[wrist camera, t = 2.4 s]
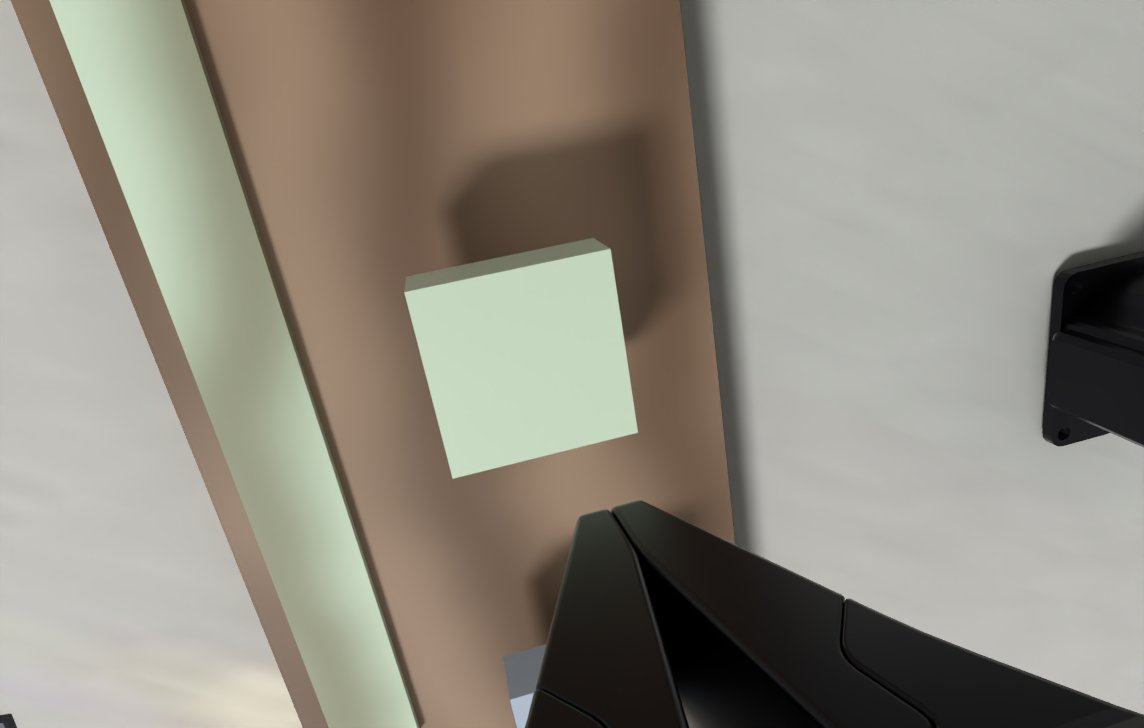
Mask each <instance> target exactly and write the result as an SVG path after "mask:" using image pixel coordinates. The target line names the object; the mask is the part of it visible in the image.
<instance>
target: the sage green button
mask: <svg viewBox="0 0 1144 728" xmlns="http://www.w3.org/2000/svg"><path fill="white" fill-rule="evenodd" d="M404 293H405V297H406V301H407V305H408V309H409V312H410V316H411V320H412V324H413V328H414V332H415V336H416V339H417V343H418V347H419V351H420V355H421V359H422V363H423V366H424V370H425V374H426V378H427V382H428V386H429V390H430V393H431V397H432V401H433V405H434V409H435V413H436V417H437V420H438V424H439V428H440V432H441V436H442V440H443V444H444V447H445V451H446V455H447V459H448V463H449V467H450V471H451V474H452V478H453V479H454V478H458V477H462V476H466V475H470V474H474V473H478V472H482V471H486V470H490V469H494V468H498V467H502V466H506V465H510V464H514V463H518V462H522V461H526V460H530V459H534V458H538V457H542V456H546V455H550V454H554V453H558V452H562V451H566V450H570V449H574V448H578V447H582V446H586V445H590V444H594V443H598V442H602V441H606V440H611V439H615V438H619V437H623V436H627V435H631V434H635V433H638V429H637V422H636V416H635V409H634V402H633V396H632V389H631V382H630V376H629V369H628V362H627V356H626V349H625V342H624V335H623V329H622V322H621V315H620V309H619V302H618V295H617V289H616V282H615V275H614V269H613V262H612V255H611V249H610V248H608V247H607V246H605V245H604V244H602V243H601V242H599V241H597V240H596V239H594V238H590V239H585V240H580V241H575V242H571V243H566V244H561V245H556V246H551V247H546V248H542V249H537V250H532V251H527V252H522V253H518V254H513V255H508V256H503V257H498V258H494V259H489V260H484V261H479V262H474V263H469V264H465V265H460V266H455V267H450V268H445V269H441V270H436V271H431V272H426V273H421V274H417V275H412V276H407V277H406V278H405V290H404Z"/></svg>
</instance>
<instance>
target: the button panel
mask: <svg viewBox="0 0 1144 728" xmlns="http://www.w3.org/2000/svg"><path fill="white" fill-rule="evenodd" d="M11 2H12V4H13V7H14V9H15V12H16V14H17V17H18V19H19V22H20V24H21V27H22V29H23V32H24V34H25V37H26V39H27V42H28V44H29V47H30V49H31V52H32V54H33V57H34V59H35V62H36V64H37V67H38V69H39V72H40V74H41V77H42V79H43V82H44V84H45V87H46V89H47V92H48V94H49V97H50V99H51V102H52V104H53V107H54V109H55V112H56V114H57V117H58V119H59V122H60V124H61V126H62V129H63V131H64V134H65V136H66V139H67V141H68V144H69V146H70V149H71V151H72V154H73V156H74V159H75V161H76V164H77V166H78V169H79V171H80V174H81V176H82V179H83V181H84V184H85V186H86V189H87V191H88V194H89V196H90V199H91V201H92V204H93V206H94V209H95V211H96V214H97V216H98V219H99V221H100V224H101V226H102V229H103V231H104V234H105V236H106V239H107V241H108V244H109V246H110V249H111V251H112V253H113V256H114V258H115V261H116V263H117V266H118V268H119V271H120V273H121V276H122V278H123V281H124V283H125V286H126V288H127V291H128V293H129V296H130V298H131V301H132V303H133V306H134V308H135V311H136V313H137V316H138V318H139V321H140V323H141V326H142V328H143V331H144V333H145V336H146V338H147V341H148V343H149V346H150V348H151V351H152V353H153V356H154V358H155V361H156V363H157V366H158V368H159V371H160V373H161V375H162V378H163V380H164V383H165V385H166V388H167V390H168V393H169V395H170V398H171V400H172V403H173V405H174V408H175V410H176V413H177V415H178V418H179V420H180V423H181V425H182V428H183V430H184V433H185V435H186V438H187V440H188V443H189V445H190V448H191V450H192V453H193V455H194V458H195V460H196V463H197V465H198V468H199V470H200V473H201V475H202V478H203V480H204V483H205V485H206V488H207V490H208V493H209V495H210V497H211V500H212V502H213V505H214V507H215V510H216V512H217V515H218V517H219V520H220V522H221V525H222V527H223V530H224V532H225V535H226V537H227V540H228V542H229V545H230V547H231V550H232V552H233V555H234V557H235V560H236V562H237V565H238V567H239V570H240V572H241V575H242V577H243V580H244V582H245V585H246V587H247V590H248V592H249V595H250V597H251V600H252V602H253V605H254V607H255V610H256V612H257V615H258V617H259V620H260V622H261V624H262V627H263V629H264V632H265V634H266V637H267V639H268V642H269V644H270V647H271V649H272V652H273V654H274V657H275V659H276V662H277V664H278V667H279V669H280V672H281V674H282V677H283V679H284V682H285V684H286V687H287V689H288V692H289V694H290V697H291V699H292V702H293V704H294V707H295V709H296V712H297V714H298V717H299V719H300V722H301V724H302V727H303V728H517V725H516V721H515V717H514V714H513V710H512V706H511V702H510V697H509V691H508V685H507V678H506V672H505V666H504V660H503V656H507V655H510V654H514V653H517V652H521V651H524V650H528V649H531V648H535V647H538V646H542V645H545V644H546V643H547V639H548V635H549V631H550V627H551V623H552V619H553V615H554V611H555V607H556V603H557V599H558V595H559V591H560V587H561V583H562V579H563V575H564V571H565V567H566V563H567V559H568V555H569V551H570V547H571V543H572V539H573V535H574V531H575V527H576V523H577V520H578V518H579V517H580V516H581V515H583V514H587V513H591V512H595V511H599V510H602V509H607V510H609V511H610V512H611V510H612V508H613V507H615V506H618V505H621V504H625V503H629V502H633V501H637V500H641V501H644V502H646V503H648V504H651V505H653V506H655V507H657V508H659V509H661V510H663V511H665V512H667V513H670V514H672V515H674V516H676V517H678V518H680V519H682V520H684V521H686V522H689V523H691V524H693V525H695V526H697V527H699V528H701V529H703V530H705V531H708V532H710V533H712V534H714V535H716V536H718V537H720V538H722V539H725V540H727V541H729V542H731V543H733V544H735V538H734V528H733V518H732V508H731V499H730V489H729V479H728V469H727V459H726V450H725V440H724V430H723V420H722V410H721V400H720V391H719V381H718V371H717V361H716V351H715V341H714V332H713V322H712V312H711V302H710V292H709V283H708V273H707V263H706V253H705V243H704V233H703V224H702V214H701V204H700V194H699V184H698V175H697V165H696V155H695V145H694V135H693V125H692V116H691V106H690V96H689V86H688V76H687V67H686V57H685V47H684V37H683V27H682V17H681V8H680V0H11ZM590 238H594V239H596V240H597V241H599V242H601V243H602V244H604V245H605V246H607V247H608V248H610V249H611V255H612V262H613V269H614V275H615V282H616V289H617V295H618V302H619V309H620V315H621V322H622V329H623V335H624V342H625V349H626V356H627V362H628V369H629V376H630V382H631V389H632V396H633V402H634V409H635V416H636V422H637V429H638V433H635V434H631V435H627V436H623V437H619V438H615V439H611V440H606V441H602V442H598V443H594V444H590V445H586V446H582V447H578V448H574V449H570V450H566V451H562V452H558V453H554V454H550V455H546V456H542V457H538V458H534V459H530V460H526V461H522V462H518V463H514V464H510V465H506V466H502V467H498V468H494V469H490V470H486V471H482V472H478V473H474V474H470V475H466V476H462V477H458V478H454V479H453V478H452V474H451V471H450V467H449V463H448V459H447V455H446V451H445V447H444V444H443V440H442V436H441V432H440V428H439V424H438V420H437V417H436V413H435V409H434V405H433V401H432V397H431V393H430V390H429V386H428V382H427V378H426V374H425V370H424V366H423V363H422V359H421V355H420V351H419V347H418V343H417V339H416V336H415V332H414V328H413V324H412V320H411V316H410V312H409V309H408V305H407V301H406V297H405V293H404V290H405V278H406V277H407V276H412V275H417V274H421V273H426V272H431V271H436V270H441V269H445V268H450V267H455V266H460V265H465V264H469V263H474V262H479V261H484V260H489V259H494V258H498V257H503V256H508V255H513V254H518V253H522V252H527V251H532V250H537V249H542V248H546V247H551V246H556V245H561V244H566V243H571V242H575V241H580V240H585V239H590Z"/></svg>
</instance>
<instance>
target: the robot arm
mask: <svg viewBox="0 0 1144 728" xmlns="http://www.w3.org/2000/svg"><path fill="white" fill-rule="evenodd" d="M1072 283H1073V284H1072ZM1071 284H1072V287H1071V288H1070V286H1071ZM1042 433H1043V438H1044V439H1045V440H1046V441H1048V442H1050V443H1052V444H1054V445H1056V446H1065V445H1068V444H1072V443H1076V442H1079V441H1083V440H1087V439H1090V438H1094V437H1097V436H1101V435H1105V434H1108V433H1112V434H1115V435H1117V436H1119V437H1122V438H1124V439H1126V440H1128V441H1131V442H1133V443H1135V444H1137V445H1140V446H1142V447H1144V252H1141V253H1136V254H1132V255H1128V256H1124V257H1120V258H1115V259H1111V260H1107V261H1103V262H1098V263H1094V264H1090V265H1086V266H1082V267H1077V268H1073V269H1069V270H1066V271H1064V272H1062V273H1061V274H1060V275H1059V276H1058V277H1057V279H1056V280H1055V283H1054V287H1053V300H1052V313H1051V326H1050V339H1049V353H1048V366H1047V379H1046V393H1045V406H1044V419H1043V432H1042ZM525 728H1144V715H1143V714H1140V713H1137V712H1134V711H1131V710H1128V709H1125V708H1122V707H1119V706H1116V705H1114V704H1111V703H1108V702H1105V701H1103V700H1100V699H1097V698H1095V697H1092V696H1089V695H1087V694H1084V693H1081V692H1079V691H1076V690H1073V689H1071V688H1068V687H1065V686H1063V685H1060V684H1057V683H1055V682H1052V681H1049V680H1047V679H1044V678H1041V677H1039V676H1036V675H1033V674H1031V673H1028V672H1025V671H1023V670H1020V669H1017V668H1015V667H1012V666H1009V665H1007V664H1004V663H1001V662H999V661H996V660H993V659H991V658H988V657H985V656H983V655H980V654H977V653H975V652H972V651H970V650H967V649H965V648H962V647H960V646H957V645H955V644H952V643H950V642H947V641H945V640H942V639H940V638H937V637H935V636H932V635H930V634H927V633H924V632H922V631H920V630H918V629H915V628H913V627H911V626H909V625H906V624H904V623H902V622H900V621H897V620H895V619H893V618H891V617H888V616H886V615H884V614H882V613H879V612H877V611H875V610H873V609H871V608H869V607H867V606H864V605H862V604H860V603H858V602H856V601H854V600H852V599H846V600H845V598H844V596H842V595H841V594H839V593H836V592H834V591H832V590H830V589H828V588H826V587H824V586H822V585H820V584H817V583H815V582H813V581H811V580H809V579H807V578H805V577H803V576H801V575H798V574H796V573H794V572H792V571H790V570H788V569H786V568H784V567H782V566H779V565H777V564H775V563H773V562H771V561H769V560H767V559H765V558H763V557H760V556H758V555H756V554H754V553H752V552H750V551H748V550H746V549H744V548H741V547H739V546H737V545H735V544H733V543H731V542H729V541H727V540H725V539H722V538H720V537H718V536H716V535H714V534H712V533H710V532H708V531H705V530H703V529H701V528H699V527H697V526H695V525H693V524H691V523H689V522H686V521H684V520H682V519H680V518H678V517H676V516H674V515H672V514H670V513H667V512H665V511H663V510H661V509H659V508H657V507H655V506H653V505H651V504H648V503H646V502H644V501H641V500H637V501H633V502H629V503H625V504H621V505H618V506H615V507H613V508H612V510H611V512H610V511H609V510H607V509H602V510H599V511H595V512H591V513H587V514H583V515H581V516H580V517H579V518H578V520H577V523H576V527H575V531H574V535H573V539H572V543H571V547H570V551H569V555H568V559H567V563H566V567H565V571H564V575H563V579H562V583H561V587H560V591H559V595H558V599H557V603H556V607H555V611H554V615H553V619H552V623H551V627H550V631H549V635H548V639H547V643H546V647H545V651H544V655H543V659H542V663H541V667H540V671H539V675H538V679H537V683H536V691H535V692H534V694H533V698H532V702H531V706H530V710H529V713H528V717H527V721H526V724H525Z"/></svg>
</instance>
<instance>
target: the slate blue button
mask: <svg viewBox="0 0 1144 728" xmlns="http://www.w3.org/2000/svg"><path fill="white" fill-rule="evenodd" d="M545 647H546V644H545V645H542V646H538V647H535V648H531V649H528V650H524V651H521V652H517V653H514V654H510V655H507V656H503V660H504V666H505V672H506V678H507V685H508V691H509V697H510V702H511V706H512V710H513V714H514V717H515V721H516V725H517V728H525V724H526V721H527V717H528V713H529V710H530V706H531V702H532V698H533V694H534V692H535V691H536V683H537V679H538V675H539V671H540V667H541V663H542V659H543V655H544V651H545Z"/></svg>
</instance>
